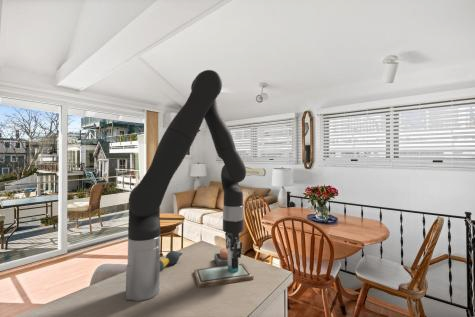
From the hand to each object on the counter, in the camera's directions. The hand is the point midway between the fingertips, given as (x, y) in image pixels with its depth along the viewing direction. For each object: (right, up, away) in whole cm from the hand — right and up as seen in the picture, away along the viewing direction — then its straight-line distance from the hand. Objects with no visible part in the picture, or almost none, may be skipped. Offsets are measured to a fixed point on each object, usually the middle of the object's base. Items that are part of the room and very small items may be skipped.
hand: (232, 265), depth 84 cm
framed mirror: (-4, -3, -1) cm, 5 cm away
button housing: (-3, -3, +10) cm, 11 cm away
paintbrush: (-26, -4, +4) cm, 27 cm away
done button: (-3, -1, +10) cm, 10 cm away
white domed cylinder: (0, -1, 0) cm, 1 cm away
